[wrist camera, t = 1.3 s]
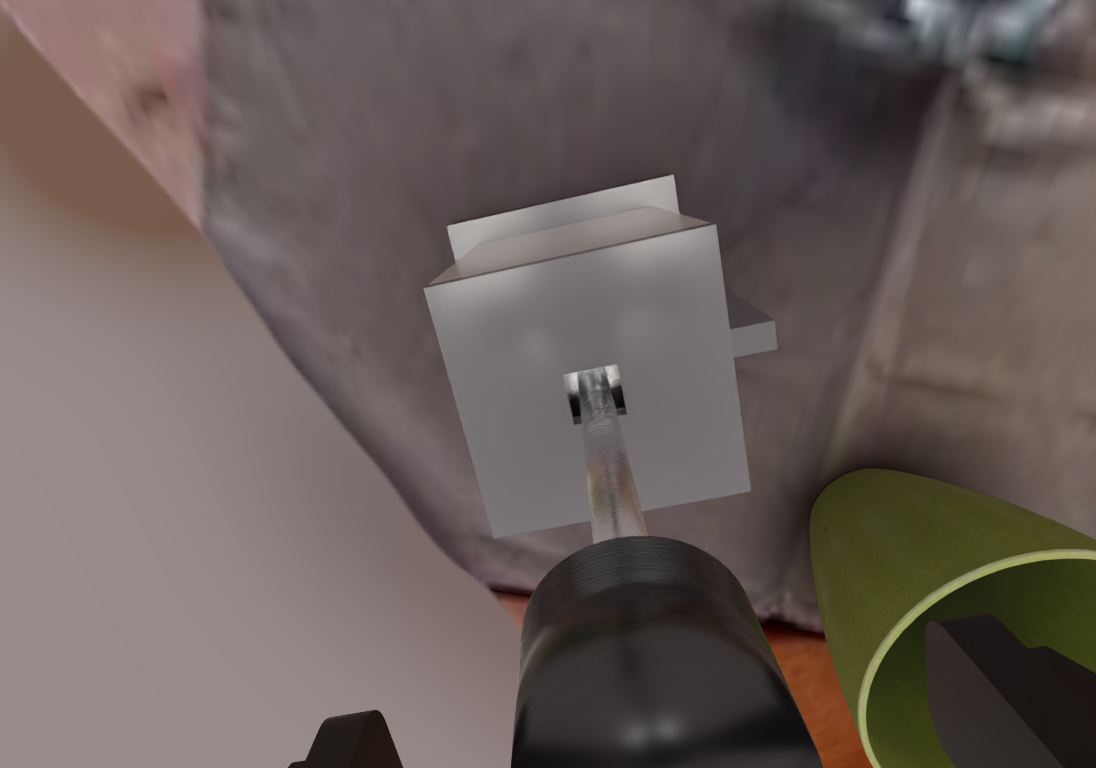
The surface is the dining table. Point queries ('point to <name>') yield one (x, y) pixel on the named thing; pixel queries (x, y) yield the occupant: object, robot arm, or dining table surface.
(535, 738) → the plunger
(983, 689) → the robot arm
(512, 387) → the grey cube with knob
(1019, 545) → the flower pot
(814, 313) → the dining table surface
